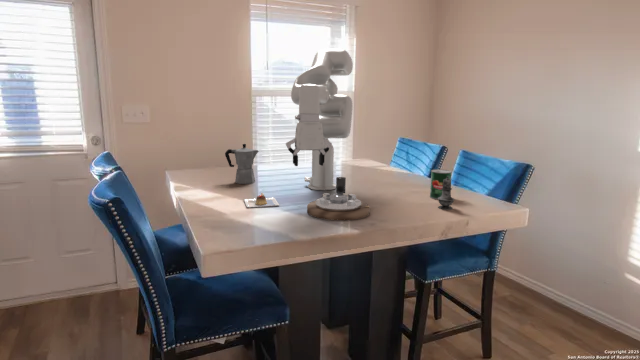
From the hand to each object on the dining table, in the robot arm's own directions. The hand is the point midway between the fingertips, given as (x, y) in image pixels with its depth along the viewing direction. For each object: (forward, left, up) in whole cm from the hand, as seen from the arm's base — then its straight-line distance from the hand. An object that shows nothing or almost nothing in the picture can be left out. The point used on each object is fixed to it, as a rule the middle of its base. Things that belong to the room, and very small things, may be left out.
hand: (308, 165), depth 158 cm
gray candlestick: (+47, +18, -15) cm, 53 cm away
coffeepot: (-46, +21, -15) cm, 52 cm away
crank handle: (+13, -1, -12) cm, 18 cm away
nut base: (+14, -5, -15) cm, 21 cm away
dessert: (-16, -8, -15) cm, 24 cm away
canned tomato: (+42, +34, -15) cm, 56 cm away
